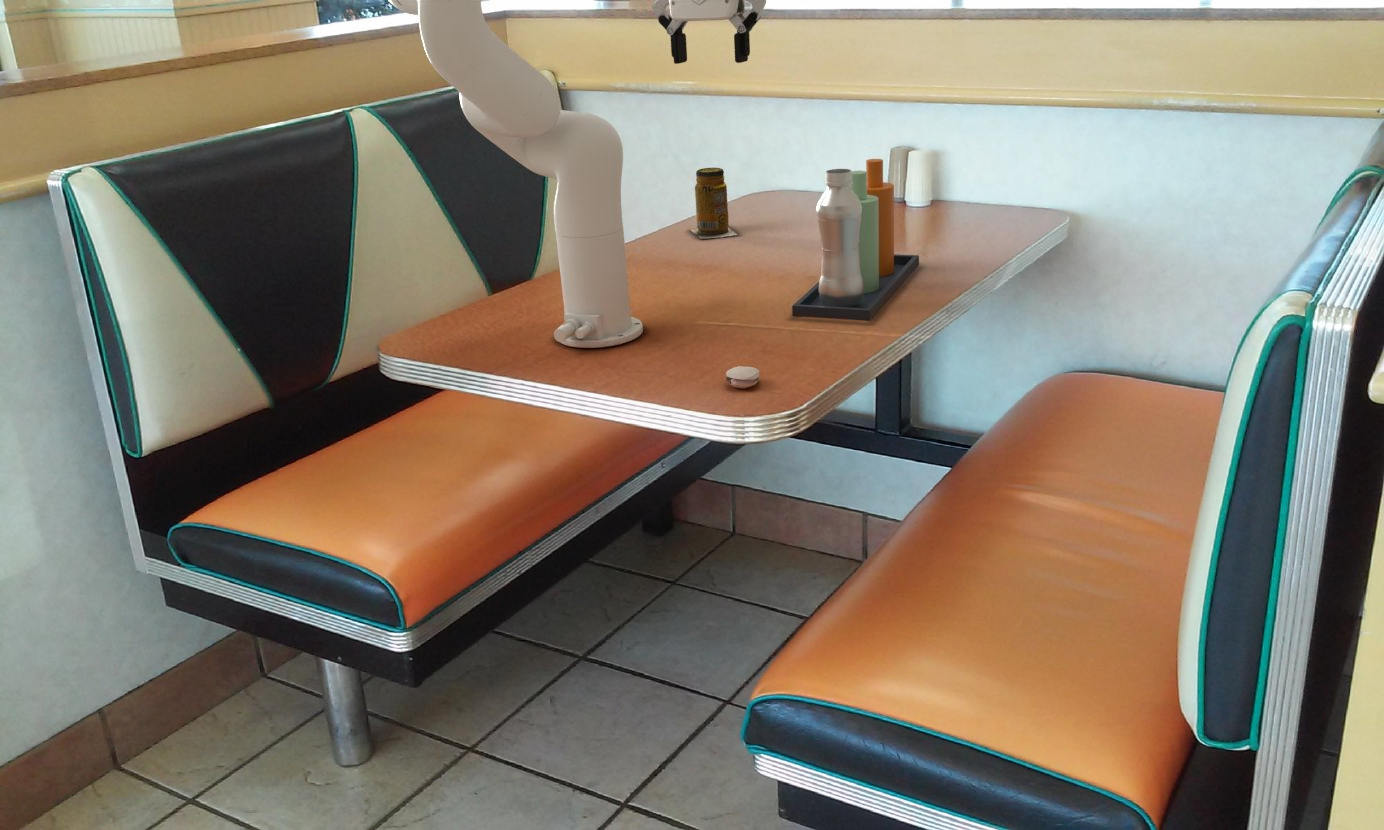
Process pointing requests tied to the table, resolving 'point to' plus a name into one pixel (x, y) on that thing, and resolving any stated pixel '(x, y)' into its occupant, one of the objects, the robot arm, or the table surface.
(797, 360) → the table surface
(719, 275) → the table surface
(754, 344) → the table surface
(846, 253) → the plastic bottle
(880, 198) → the amber bottle
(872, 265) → the sage bottle
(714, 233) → the condiment
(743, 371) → the macaroon
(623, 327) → the robot arm
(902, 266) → the tray
